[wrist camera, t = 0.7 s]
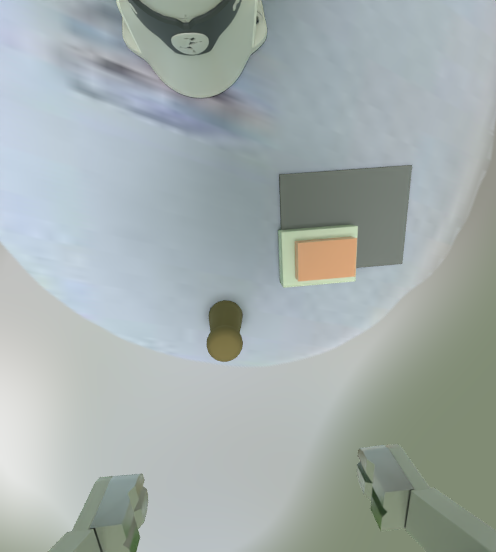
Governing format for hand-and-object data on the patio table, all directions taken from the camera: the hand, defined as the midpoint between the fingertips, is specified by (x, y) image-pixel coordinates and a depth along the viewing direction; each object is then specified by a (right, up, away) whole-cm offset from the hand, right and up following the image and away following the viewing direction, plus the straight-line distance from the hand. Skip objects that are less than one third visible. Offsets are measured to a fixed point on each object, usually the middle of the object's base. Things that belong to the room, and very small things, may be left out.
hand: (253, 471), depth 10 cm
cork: (-4, 0, +37) cm, 38 cm away
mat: (+16, +16, +34) cm, 41 cm away
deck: (+11, +11, +35) cm, 38 cm away
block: (+12, +10, +32) cm, 36 cm away
